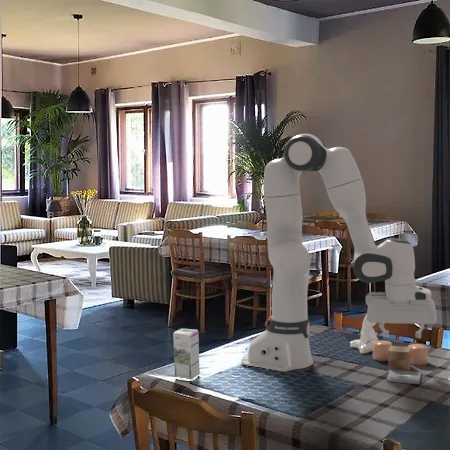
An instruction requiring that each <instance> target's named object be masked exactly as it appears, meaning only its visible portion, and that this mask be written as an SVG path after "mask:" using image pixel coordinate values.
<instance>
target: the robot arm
mask: <svg viewBox="0 0 450 450" xmlns="http://www.w3.org/2000/svg"><path fill="white" fill-rule="evenodd" d="M304 172H318V173H319V174H320V176H321V178H322V181H323V184H324V187H325V189H326V193H327V196H328V198H329V201H330V203H331V205H332V206H333V207H332V208H334V210H335V211H336V212H337V213H338V214H339V215H340V216H341V217H342V219H343V220H344V222H345V224H346V225H347V229H348V231H349V234H350V238H351V241H352V244H353V250H354V251H353V255H352V258H353V259H352V270H353V274H354V276H355V277H356V278H357V280H358V281H360V282H362V283H365V284H374V283H378V282H383V281H384V284H385V285H384V287H385V288H384V290H385V291H377V292H376V291H371V292H370V293H367V294H366V295H365V304H366V306H367V311H366V314H367V320H368V321H369V322H370V323H376V324H378V326H379V328H380V330H381V332H382V336H383V338H389V336H390V335H389V332H390V331H389V330H386V329H385V324H409V325H410V324H411V325H418V327H419V329H418V330H417V331H415V333H414V334H415V339H422V332H423V331H424V328H425V325H434V324H435V323H437V310H436V309H437V308H436V305H435V301H434V300H433V298H432V291H431V290H430V289H429V288H425V287H422V286H420V285H417V283H416V278H415V271H416V260H415V259H416V258H415V257H416V256H415V250H414V247H413V244H412V243H411V242H410V241H408V240H407V239H404V238H399V237H398V238H397V237H389V238H386V240H384V241H383V242H381V243H380V244H378V245H377V244H376V242H375V241H374V237H373V235H372V232H371V229H370V226H369V222H368V219H367V214H366V208H367V207H366V205H367V196H366V195H367V194H366V190H365V189H366V188H365V184H364V181H363V177H362V175H361V171H360V169H359V167H358V164H357V162H356V160H355V158H354V156H353V154H352V152H351V150H349V148H347V147H343V146H336V147H335V146H334V147H331V148H327V147H325V143H324V142H323V140H322V139H321V138H320V137H319V136H318V135H315V134H312V133H304V132H303V133H299V134H296V135H295V136H292V137H291V138H290V139H288V140H287V142H286V143H285V146H284V150H283V157H281V158H275V159H273V160H272V159H271V161H269V162H268V163H267V164H266V165H265V167H264V174H263V175H264V176H263V193H264V194H263V195H264V206H265V214H266V231H267V237H266V238H267V254H268V257H267V258H268V261H269V262H270V263H269V264H270V265H271V267H273V268H272V269H273V274H272V275H273V277H272V290H271V315H269V317H267V320H266V321H265V323H264V324H265V325H264V326H265V328H266V329H265V330H264V331H263V332H261V333H260V334H258V336H256V337H255V338H254V339H253V340H251V342H250V343H249V347H248V352H247V353H246V354H244V356H243V357H242V358H241V361H240V362H241V363H242V364H244V365H250V366H255V367H262V368H266V369H265V370H269V369H271V370H270V371H276V370H277V372H284V373H285V372H290V371H293V370H300V369H301V370H302V369H305V368H308V367H310V366H313V364H314V359H313V357H312V352H311V345H310V339H309V337H310V320H309V317H308V289H309V281H310V269H311V256H310V253H309V250H308V249H307V248H306V247H305V246H304V245H303V221H304V217H303V208H302V207H303V206H302V195H301V189H300V187H301V185H300V178H301V175H302V173H304ZM242 364H241V365H242ZM255 367H254V368H255ZM262 368H261V369H262Z"/></svg>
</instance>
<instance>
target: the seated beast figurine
mask: <svg viewBox="0 0 450 450" xmlns="http://www.w3.org/2000/svg"><path fill="white" fill-rule="evenodd" d="M376 324H377V323H370V322H369V321H368V320H367V313H366V314H365V316H364V318H363V321H362V327H361V331H360V338H359V339H353V340H351V341H350V342H349V343H350V344H349V347H350V348H352V349H355V348H356V349H358V350H359V353H360V354H369V353H370V352H373V349H372V342H373V341H377V340H379V339H378V336H377V334H376V331H375V329H374V328H373V327H374V326H375V325H376Z"/></svg>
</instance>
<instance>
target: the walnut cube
mask: <svg viewBox="0 0 450 450" xmlns="http://www.w3.org/2000/svg"><path fill="white" fill-rule="evenodd" d="M387 362H388V364H387V365H388V366H387V370H388V371H389V370H398V371H411V364H410V347H408V346H405V345H404V346H402V345H392V346H390V347H389V350H388V361H387Z"/></svg>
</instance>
